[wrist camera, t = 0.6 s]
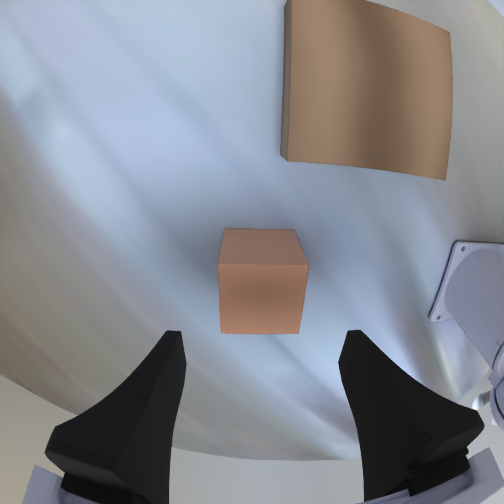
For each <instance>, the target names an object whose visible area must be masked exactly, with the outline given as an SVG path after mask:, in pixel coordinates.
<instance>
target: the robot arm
mask: <svg viewBox="0 0 504 504" xmlns="http://www.w3.org/2000/svg"><path fill="white" fill-rule="evenodd" d="M462 247H463V248H462ZM429 319H430V321H431V322H437V321H444V320H450V319H454V320H455V321H456V323H457V324H458V325H459V326H460V328H461V329H462V330H463V331H464V333H465V334H466V335H467V337H468V338H469V339H470V340H471V342H472V343H473V344H474V346H475V347H476V348H477V350H478V351H479V352H480V354H481V355H482V356H483V358H484V359H485V361H486V362H487V363H488V365H489V366H490V368H491V369H492V373H491V374H490V376H489V378H488V379H489V380H490V382H491V384H492V385H493V388H492V389H491V392H490V406H491V411H492V414H493V417H494V419H495V421H496V423H497V424H498V426H499V427H500V428H501V429H502V430H503V431H504V244H494V243H478V242H460V241H458V242H456V243H455V244H454V247H453V250H452V254H451V257H450V260H449V263H448V267H447V270H446V273H445V276H444V279H443V282H442V285H441V287H440V290H439V293H438V296H437V298H436V301H435V304H434V306H433V309H432V311H431V314H430V316H429ZM186 364H187V363H186V358H185V352H184V347H183V341H182V335H181V331H169V330H167V331H166V332H165V333H164V334H163V336H162V337H161V339H160V340H159V341H158V343H157V344H156V345H155V346H154V348H153V349H152V350H151V352H150V353H149V354H148V355H147V356H146V358H145V359H144V360H143V361H142V362H141V364H140V365H139V366H138V367H137V368H136V369H135V370H134V371H133V372H132V373H131V375H130V376H129V377H128V378H127V379H126V380H125V381H124V382H123V383H122V384H120V385H119V386H118V387H117V388H116V389H115V390H114V391H113V392H111V393H110V394H109V395H108V396H106V397H105V398H104V399H103V400H101V401H100V402H99V403H97V404H96V405H94V406H93V407H91V408H90V409H88V410H86V411H85V412H83V413H82V414H80V415H78V416H76V417H75V418H73V419H71V420H68V421H66V422H64V423H62V424H60V425H58V426H55V428H54V430H53V432H52V434H51V436H50V439H49V442H48V444H47V447H46V450H45V455H46V456H47V458H48V459H49V460H50V461H52V462H53V463H54V464H55V465H56V466H57V467H58V468H60V469H61V470H62V471H63V472H65V474H64V477H63V478H62V477H60V476H58V475H57V474H55V473H52V472H50V471H48V470H46V469H44V468H41V467H39V466H37V465H35V466H34V469H33V472H32V475H31V477H30V480H29V484H28V486H27V490H26V493H25V496H24V499H23V503H22V504H169V475H170V458H171V446H172V437H173V430H174V424H175V420H176V416H177V412H178V407H179V403H180V399H181V395H182V391H183V387H184V381H185V373H186ZM338 364H339V370H340V375H341V380H342V383H343V387H344V390H345V393H346V396H347V399H348V402H349V405H350V408H351V411H352V414H353V417H354V420H355V423H356V427H357V432H358V438H359V443H360V450H361V457H362V466H363V478H364V502H362V503H358V504H480V503H481V502H483V501H484V500H486V499H487V498H488V497H490V496H491V495H493V494H494V493H496V492H497V491H498V490H500V489H501V488H502V487H504V480H503V477H502V475H501V472H500V470H499V468H498V465H497V463H496V461H495V459H494V456H493V454H492V452H491V450H490V448H486V449H484V450H483V451H481V452H479V453H477V454H476V455H474V456H472V457H471V458H469V459H468V460H467V457H466V455H467V454H468V453H469V451H468V449H467V446H468V445H469V444H470V443H471V442H472V441H473V440H474V439H475V438H476V437H477V436H478V435H479V434H480V433H481V432H482V431H483V429H484V426H485V425H484V423H483V421H482V419H481V417H480V415H479V413H478V412H477V411H476V410H473V409H470V408H468V407H464V406H462V405H459V404H457V403H455V402H452V401H450V400H448V399H446V398H444V397H442V396H440V395H438V394H437V393H435V392H433V391H432V390H430V389H428V388H427V387H425V386H424V385H422V384H421V383H419V382H418V381H416V380H415V379H414V378H412V377H411V376H410V375H408V374H407V373H406V372H405V371H404V370H402V369H401V368H400V367H399V366H398V365H396V364H395V363H394V362H393V361H392V360H391V359H390V358H389V357H388V356H387V355H386V354H385V353H384V352H383V351H381V350H380V349H379V348H378V347H377V346H376V345H375V344H374V343H373V342H372V341H371V340H370V339H369V338H368V337H367V336H366V335H365V334H364V333H363V332H362V331H361V330H349V331H348V332H347V335H346V339H345V342H344V345H343V349H342V352H341V355H340V358H339V361H338Z"/></svg>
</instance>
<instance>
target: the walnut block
mask: <svg viewBox="0 0 504 504" xmlns="http://www.w3.org/2000/svg"><path fill="white" fill-rule="evenodd" d="M452 103H453V75H452V53H451V41H450V32H448V31H446V30H444V29H442V28H440V27H438V26H436V25H433V24H431V23H429V22H427V21H424V20H422V19H419V18H417V17H414V16H412V15H409V14H407V13H404V12H401V11H398V10H395V9H392V8H389V7H386V6H383V5H380V4H377V3H373V2H370V1H366V0H287V1H286V4H285V10H284V68H283V101H282V128H281V151H280V155H281V156H282V157H283V158H284V159H286V160H287V161H293V162H309V163H322V164H334V165H344V166H353V167H362V168H371V169H378V170H386V171H393V172H400V173H406V174H412V175H418V176H424V177H430V178H435V179H440V180H445V179H446V172H447V165H448V157H449V148H450V138H451V125H452Z"/></svg>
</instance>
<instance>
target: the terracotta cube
mask: <svg viewBox="0 0 504 504" xmlns="http://www.w3.org/2000/svg"><path fill="white" fill-rule="evenodd" d="M308 269H309V264H308V261H307V259H306V257H305V254H304V252H303V249H302V247H301V245H300V242H299V240H298V238H297V235H296V233H295V231H294V230H288V229H238V228H225V229H224V235H223V240H222V245H221V250H220V256H219V261H218V281H219V306H220V327H221V333H224V334H299V330H300V324H301V318H302V311H303V305H304V298H305V291H306V284H307V277H308Z"/></svg>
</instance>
